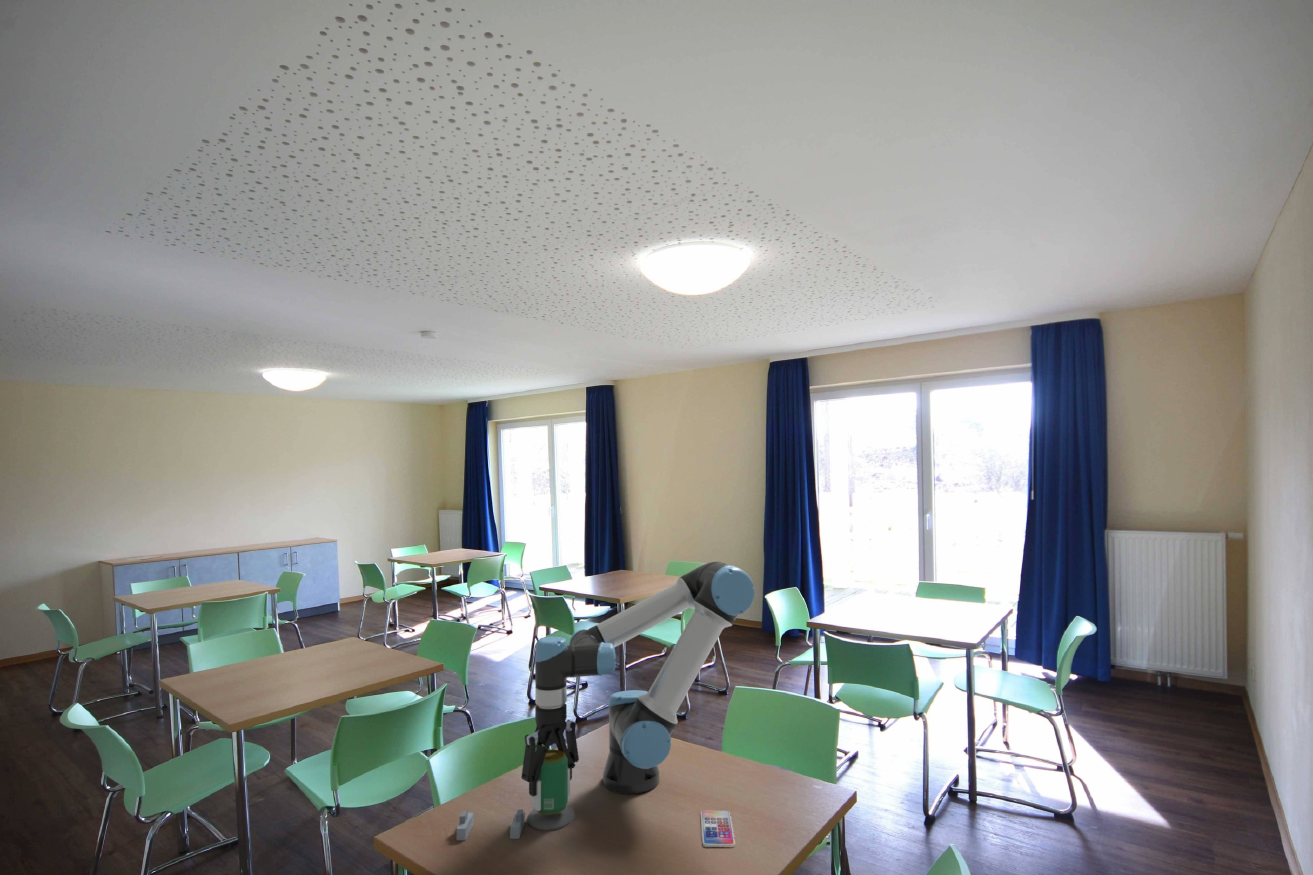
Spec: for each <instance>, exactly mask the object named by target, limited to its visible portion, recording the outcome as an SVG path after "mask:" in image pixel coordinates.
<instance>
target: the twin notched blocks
mask: <svg viewBox="0 0 1313 875" xmlns="http://www.w3.org/2000/svg"><path fill="white" fill-rule="evenodd" d="M525 811H526V810H524V809H523V808H522V809H517V811H515V813H514V816H513V819H512V821H511V824H510V826H509V827H510V828H509V833H510V834H509V839H510V840H514V839H515V840H517V839H520V837H521V835H522V831H523V828H524V824H525V822H526V819H525V818H526V816H525V815H526V813H525ZM474 818H475V817H474V812H469V811H468V810H463V811H461V813H460V815H459V823H458V825H457V826H456V827H457V828H456V841H466V840H467V838H468V835H469V834H470V832H471V829H472V828H473V826H474V824H475V823H474V820H475V819H474Z"/></svg>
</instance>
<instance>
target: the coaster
mask: <svg viewBox="0 0 1313 875" xmlns="http://www.w3.org/2000/svg"><path fill="white" fill-rule="evenodd" d="M574 818H575V811H574V810H573V808H572V807H570V806H568V805H566V807H565V809H564V810H563V811H561V812H559V813H556V814H551V815H545V814H541V813H539V812H537V810H535V809H534V808H533V809H532V810H531V811H530V812H529V813H528V815H527V824H528V825H529V827H531V828H533V829H535V830H538V831H546V832H548V831H554V830H559V829H562V828H565V827H567V826H569V825H570V824H572V822H573V821H574Z"/></svg>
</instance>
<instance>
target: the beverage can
mask: <svg viewBox="0 0 1313 875" xmlns="http://www.w3.org/2000/svg"><path fill="white" fill-rule="evenodd" d="M538 780H540V781H541V810H540V811H537V812H539V813H541V814H545V815H551V814H556V813H559V812H561V811H563V810H564V809H565V807H566V806H567V804H568V802H569V800H568V799H569V797H568V759H567V757H566V755H565V752H562V751H560V750H558V748H553V749H552V748H551V749H550V748H549V750H548V751H547V752H546V755H545V758H544V761H543V764H542V767H541V771H540V775H539V778H538Z"/></svg>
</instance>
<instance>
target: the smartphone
mask: <svg viewBox="0 0 1313 875" xmlns="http://www.w3.org/2000/svg"><path fill="white" fill-rule="evenodd" d="M730 814H731V812H730V811H728V810H708V809H707V810H705V809H704V810H701V811H700V830H701V831H700V832H701V833H700V834H701V835H700V836H701V844H703V845H702V847H704V848H706V847H719V846H722V847H725V846H734V844H735V845H736V838H735V839H734V837H735V833H733V832H734V828H733V827H732V826H733V822H732V821H731V820H732V815H731V816H730Z"/></svg>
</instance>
